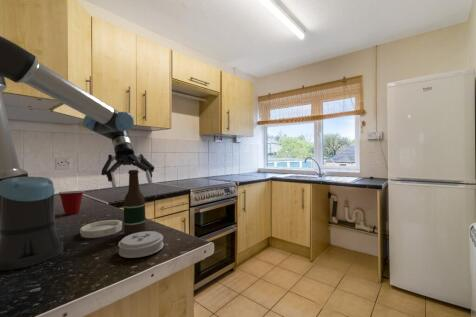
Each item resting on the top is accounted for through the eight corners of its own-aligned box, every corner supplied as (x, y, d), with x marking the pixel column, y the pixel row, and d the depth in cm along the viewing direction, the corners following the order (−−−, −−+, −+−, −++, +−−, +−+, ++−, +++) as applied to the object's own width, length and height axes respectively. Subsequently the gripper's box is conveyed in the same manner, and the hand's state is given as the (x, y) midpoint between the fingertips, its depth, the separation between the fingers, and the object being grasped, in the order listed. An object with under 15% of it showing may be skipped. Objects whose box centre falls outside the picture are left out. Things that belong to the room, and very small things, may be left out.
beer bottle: (150, 233, 83) (148, 169, 83) (128, 239, 78) (126, 171, 77) (141, 228, 89) (139, 169, 88) (120, 234, 83) (118, 170, 82)
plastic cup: (90, 211, 120) (89, 189, 120) (73, 216, 109) (72, 192, 109) (71, 210, 121) (71, 189, 121) (53, 216, 110) (52, 192, 110)
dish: (106, 238, 79) (106, 231, 79) (71, 237, 80) (71, 231, 80) (129, 226, 92) (128, 220, 92) (98, 225, 93) (98, 219, 93)
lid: (130, 265, 59) (130, 247, 59) (111, 253, 67) (111, 236, 67) (171, 249, 69) (171, 233, 69) (150, 240, 77) (150, 225, 77)
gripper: (150, 154, 110) (161, 187, 99) (90, 155, 94) (96, 194, 83) (153, 142, 106) (166, 176, 94) (91, 142, 90) (97, 182, 79)
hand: (133, 185), depth 89 cm, fingers open, 13 cm apart
